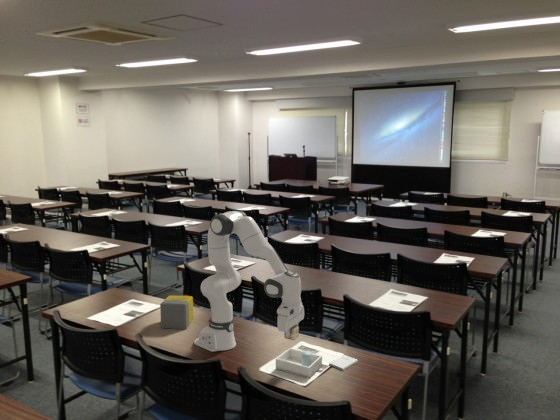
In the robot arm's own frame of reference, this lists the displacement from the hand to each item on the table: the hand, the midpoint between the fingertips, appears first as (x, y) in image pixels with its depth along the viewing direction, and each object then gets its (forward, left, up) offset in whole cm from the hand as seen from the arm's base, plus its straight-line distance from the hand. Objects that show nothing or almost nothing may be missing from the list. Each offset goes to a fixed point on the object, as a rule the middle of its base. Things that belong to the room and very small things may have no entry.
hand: (291, 334), depth 219 cm
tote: (+4, 0, -16) cm, 16 cm away
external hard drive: (+21, +15, -17) cm, 30 cm away
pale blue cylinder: (+8, 0, -15) cm, 17 cm away
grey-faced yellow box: (-84, +15, -16) cm, 87 cm away
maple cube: (0, 0, -2) cm, 2 cm away
